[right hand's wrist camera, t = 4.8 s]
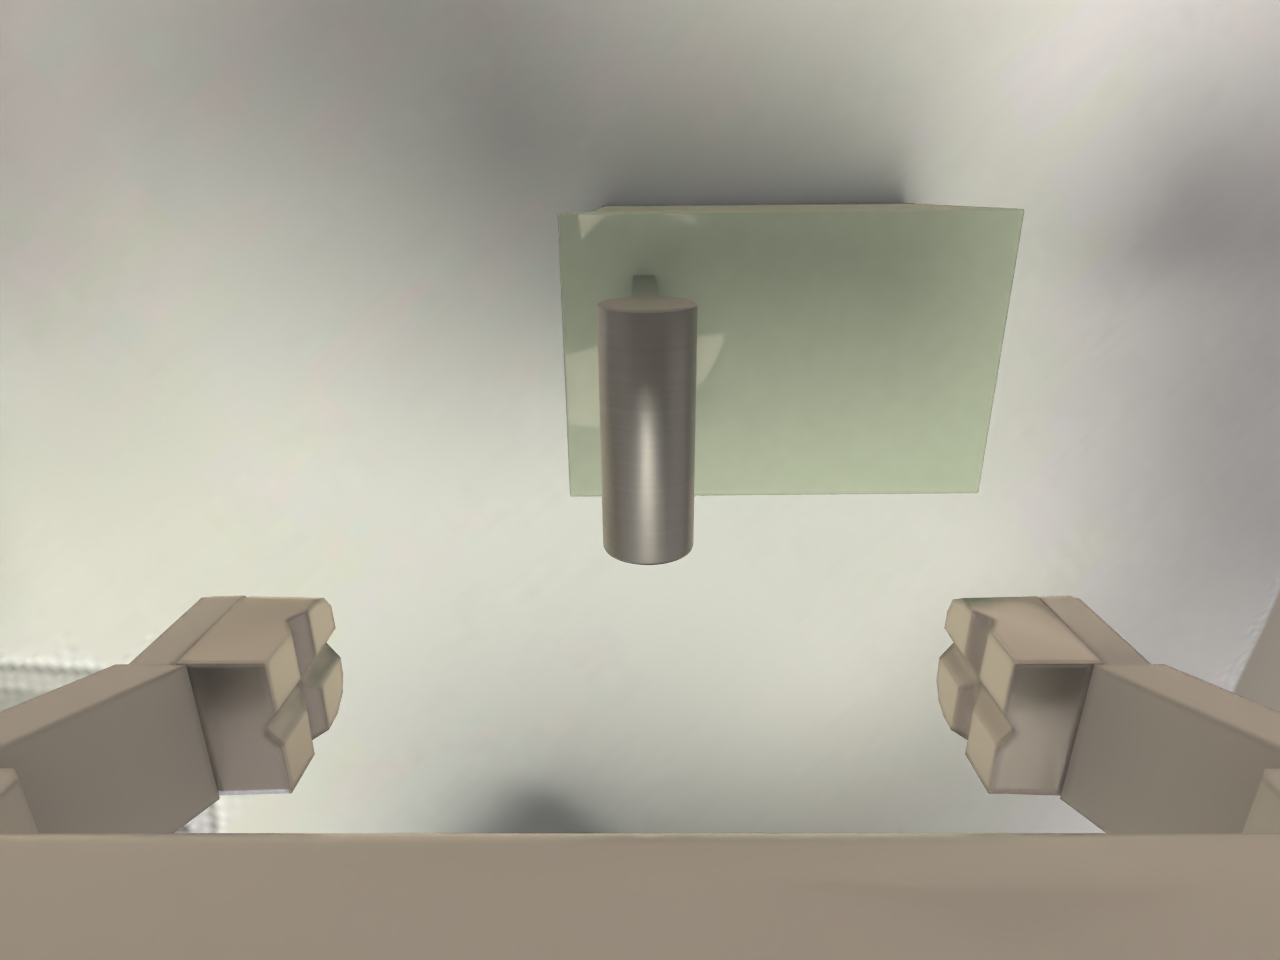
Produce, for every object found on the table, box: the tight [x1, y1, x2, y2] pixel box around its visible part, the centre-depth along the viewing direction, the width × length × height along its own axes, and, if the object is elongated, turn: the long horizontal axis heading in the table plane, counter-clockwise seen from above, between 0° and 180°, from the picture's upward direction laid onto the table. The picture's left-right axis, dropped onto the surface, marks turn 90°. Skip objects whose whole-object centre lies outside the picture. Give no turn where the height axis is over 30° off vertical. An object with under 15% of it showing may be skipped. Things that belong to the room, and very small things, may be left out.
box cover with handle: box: [558, 208, 1024, 565], centre depth 20 cm, size 14×9×9 cm, turn 90°
